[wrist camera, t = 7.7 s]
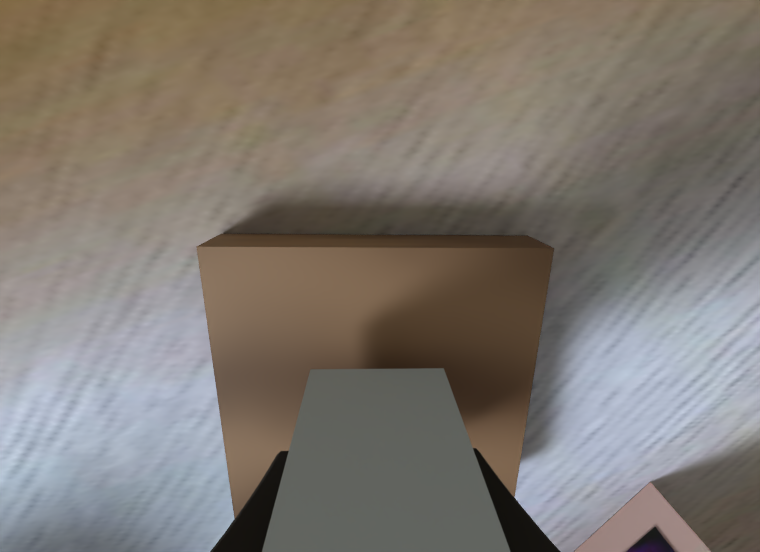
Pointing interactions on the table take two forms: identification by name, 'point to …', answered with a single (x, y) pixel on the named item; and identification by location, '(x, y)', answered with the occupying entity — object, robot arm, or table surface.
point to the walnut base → (371, 330)
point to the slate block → (382, 469)
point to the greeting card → (645, 528)
